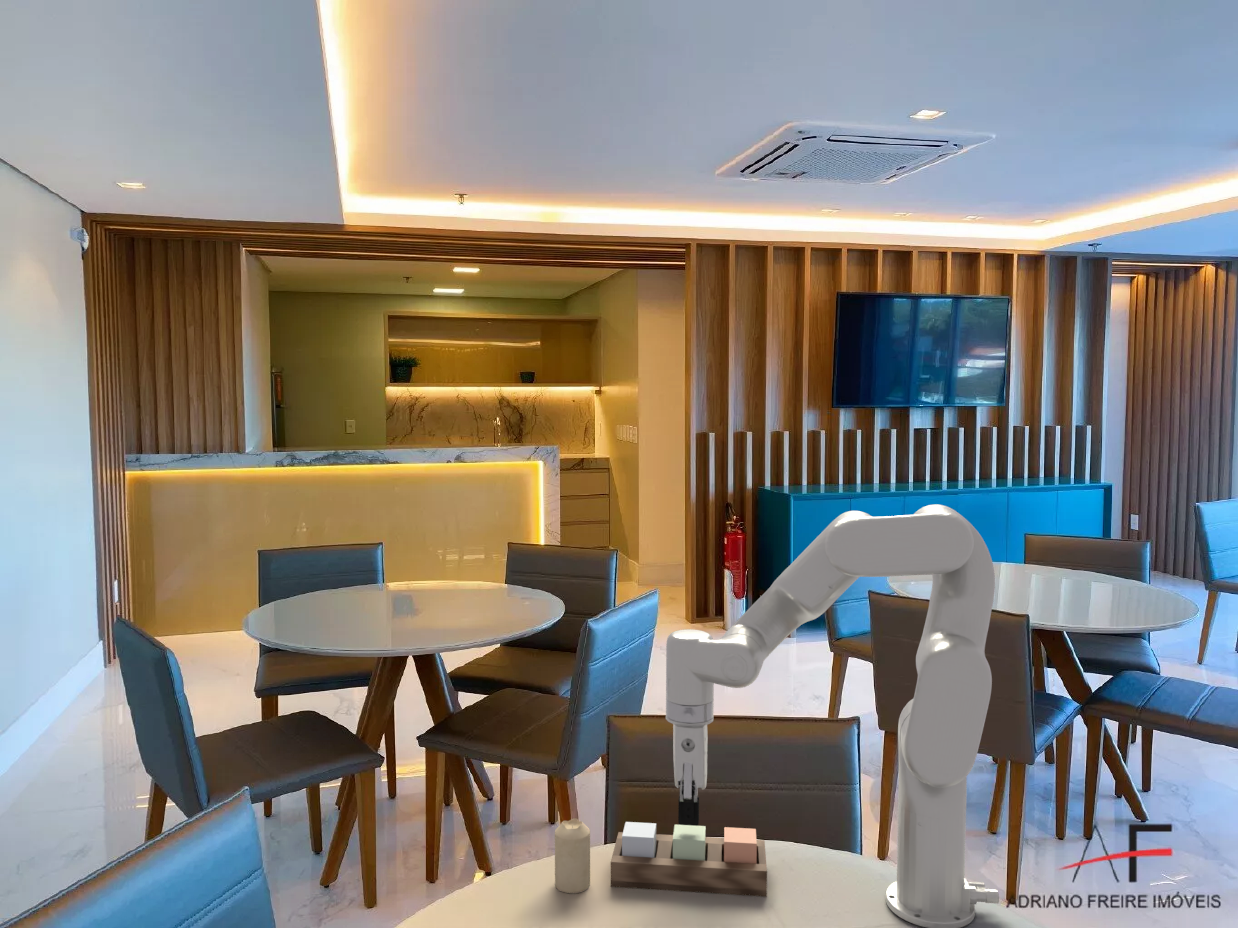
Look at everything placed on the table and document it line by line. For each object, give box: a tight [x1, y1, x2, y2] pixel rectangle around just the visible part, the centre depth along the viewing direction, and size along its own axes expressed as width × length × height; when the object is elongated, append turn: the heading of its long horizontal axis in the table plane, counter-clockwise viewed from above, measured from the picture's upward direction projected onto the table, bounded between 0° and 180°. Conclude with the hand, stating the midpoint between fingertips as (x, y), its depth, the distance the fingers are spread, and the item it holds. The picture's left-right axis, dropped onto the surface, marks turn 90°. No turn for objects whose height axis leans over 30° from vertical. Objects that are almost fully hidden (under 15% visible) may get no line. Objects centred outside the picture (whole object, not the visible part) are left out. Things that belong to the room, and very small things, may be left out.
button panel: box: [610, 831, 768, 898], centre depth 143 cm, size 24×10×4 cm, turn 83°
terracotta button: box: [723, 826, 757, 864], centre depth 142 cm, size 5×5×4 cm
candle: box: [554, 817, 591, 894], centre depth 140 cm, size 6×6×10 cm
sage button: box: [672, 824, 707, 861], centre depth 143 cm, size 5×5×4 cm
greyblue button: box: [622, 821, 657, 858], centre depth 144 cm, size 5×5×4 cm
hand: (688, 822), depth 143 cm, fingers closed
